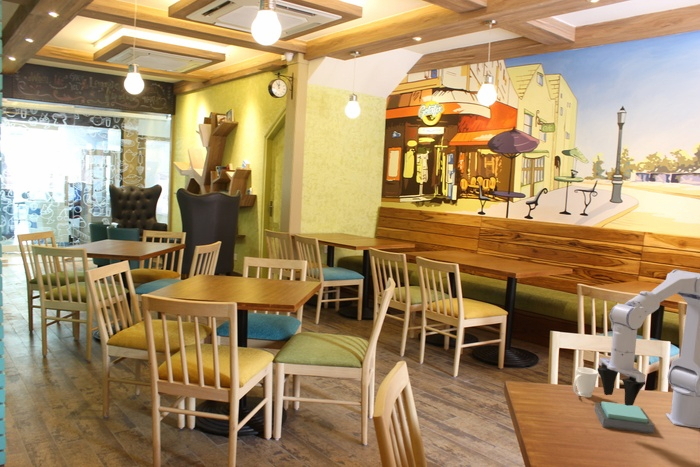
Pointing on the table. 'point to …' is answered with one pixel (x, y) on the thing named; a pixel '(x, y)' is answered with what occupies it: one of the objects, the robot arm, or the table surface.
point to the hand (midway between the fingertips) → (618, 399)
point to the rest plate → (623, 412)
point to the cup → (585, 381)
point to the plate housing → (624, 422)
